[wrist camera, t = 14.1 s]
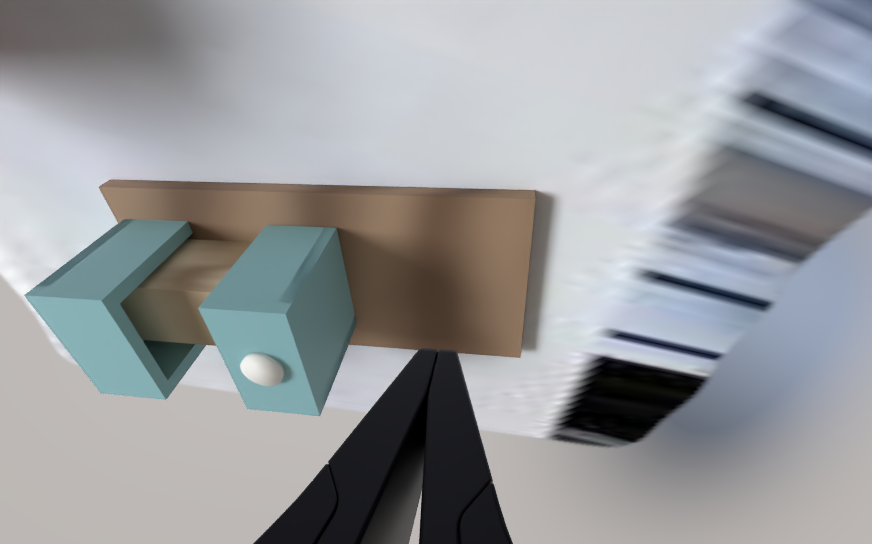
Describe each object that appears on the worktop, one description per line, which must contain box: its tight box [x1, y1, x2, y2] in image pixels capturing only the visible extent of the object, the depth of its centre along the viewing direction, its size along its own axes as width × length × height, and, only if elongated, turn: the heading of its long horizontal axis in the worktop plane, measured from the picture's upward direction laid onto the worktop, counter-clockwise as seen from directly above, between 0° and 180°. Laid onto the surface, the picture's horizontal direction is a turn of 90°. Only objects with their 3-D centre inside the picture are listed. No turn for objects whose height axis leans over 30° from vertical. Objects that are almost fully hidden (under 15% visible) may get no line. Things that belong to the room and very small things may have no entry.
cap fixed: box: [24, 219, 206, 400], centre depth 23 cm, size 4×6×6 cm, turn 3°
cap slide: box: [198, 225, 357, 416], centre depth 22 cm, size 4×6×6 cm, turn 2°
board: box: [99, 180, 536, 358], centre depth 24 cm, size 21×10×1 cm, turn 93°
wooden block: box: [120, 239, 252, 346], centre depth 23 cm, size 10×4×4 cm, turn 93°
